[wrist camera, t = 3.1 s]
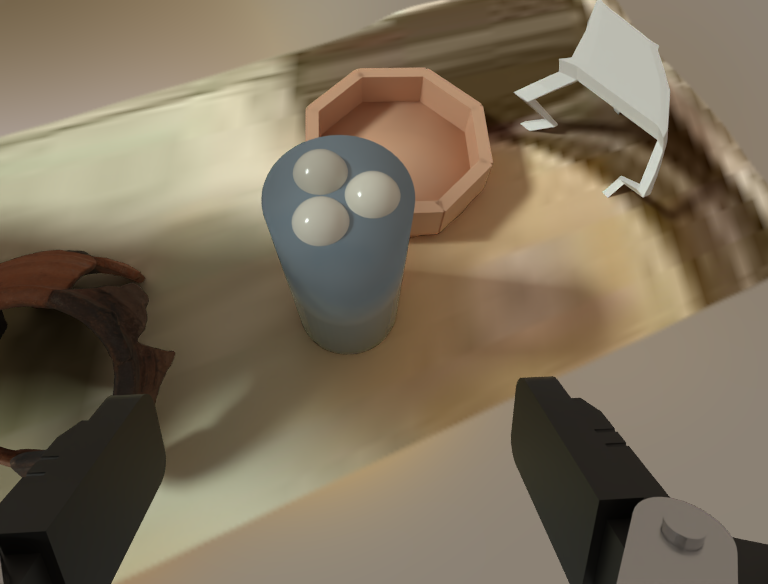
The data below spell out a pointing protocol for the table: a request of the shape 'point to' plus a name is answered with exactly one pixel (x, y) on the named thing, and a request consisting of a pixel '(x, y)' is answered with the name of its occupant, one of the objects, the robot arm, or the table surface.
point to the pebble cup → (341, 236)
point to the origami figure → (614, 84)
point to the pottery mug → (86, 319)
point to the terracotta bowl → (413, 134)
